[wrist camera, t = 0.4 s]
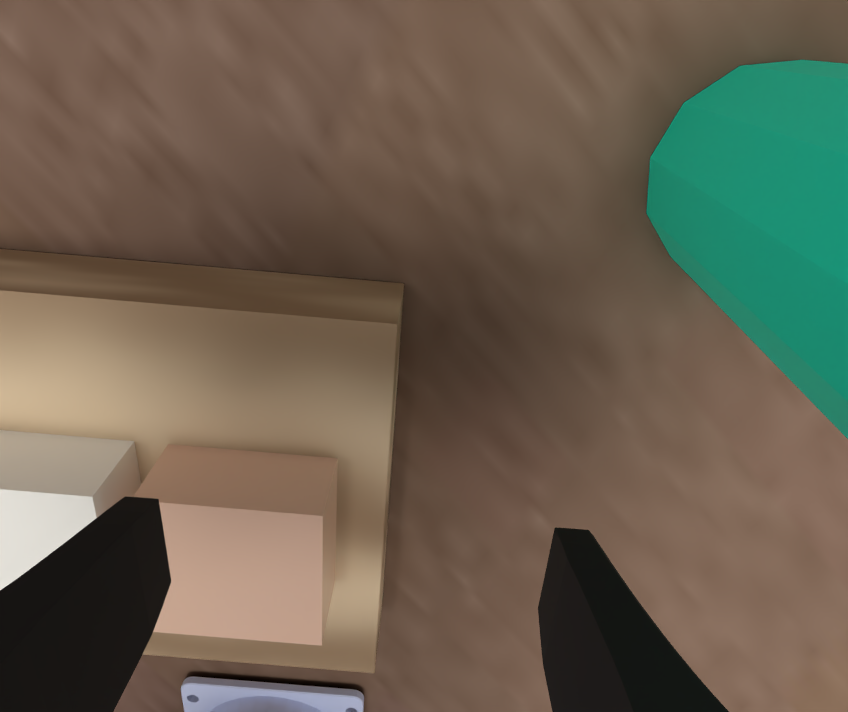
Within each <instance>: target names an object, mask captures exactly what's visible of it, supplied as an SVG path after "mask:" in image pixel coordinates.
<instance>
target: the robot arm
mask: <svg viewBox="0 0 848 712" xmlns="http://www.w3.org/2000/svg"><path fill="white" fill-rule="evenodd" d="M170 584H171V576H170V569H169V563H168V556H167V550H166V543H165V537H164V531H163V524H162V518H161V511H160V505H159V499H155V498H141V497H127V496H125V497H124V498H122V499H121V500H120V501H118V502H117V503H115V504H114V505H113V506H111V507H110V508H109V509H108V510H106V511H105V512H104V513H102V514H101V515H100V516H98V517H97V518H96V519H95V520H93V521H92V522H91V523H90V524H88V525H87V526H86V527H84V528H83V529H82V530H81V531H79V532H78V533H77V534H75V535H74V536H73V537H72V538H70V539H69V540H68V541H66V542H65V543H64V544H63V545H61V546H60V547H59V548H57V549H56V550H55V551H53V552H52V553H51V554H49V555H48V556H47V557H45V558H44V559H43V560H41V561H40V562H39V563H37V564H36V565H35V566H33V567H32V568H31V569H29V570H28V571H27V572H25V573H24V574H23V575H21V576H20V577H19V578H17V579H16V580H14V581H13V582H12V583H10V584H9V585H7V586H6V587H4V588H3V589H2V590H0V712H113V711H114V709H115V707H116V705H117V703H118V701H119V699H120V697H121V695H122V693H123V691H124V689H125V688H126V686H127V684H128V682H129V680H130V678H131V676H132V674H133V672H134V670H135V668H136V666H137V664H138V662H139V660H140V658H141V656H142V654H143V652H144V650H145V648H146V646H147V644H148V642H149V640H150V638H151V636H152V633H153V631H154V628H155V625H156V623H157V620H158V618H159V615H160V612H161V610H162V607H163V604H164V601H165V598H166V595H167V593H168V590H169V587H170ZM538 613H539V625H540V637H541V647H542V657H543V666H544V671H545V676H546V681H547V686H548V691H549V696H550V701H551V706H552V711H553V712H729V711H728V710H727V709H726V708H725V707H724V706H723V705H722V704H721V703H720V702H719V700H718V699H717V698H716V697H715V696H714V695H713V694H712V693H711V692H710V690H709V689H708V688H707V687H706V686H705V685H704V683H703V682H702V681H701V680H700V679H699V678H698V677H697V675H696V674H695V673H694V672H693V671H692V669H691V668H690V667H689V666H688V665H687V663H686V662H685V661H684V660H683V659H682V657H681V656H680V655H679V654H678V652H677V651H676V650H675V649H674V647H673V646H672V645H671V644H670V642H669V641H668V640H667V639H666V637H665V636H664V635H663V633H662V632H661V631H660V630H659V628H658V627H657V626H656V624H655V623H654V622H653V620H652V619H651V618H650V616H649V615H648V614H647V612H646V611H645V610H644V608H643V607H642V606H641V604H640V603H639V602H638V600H637V599H636V597H635V596H634V595H633V593H632V592H631V590H630V589H629V588H628V586H627V585H626V583H625V582H624V580H623V579H622V578H621V576H620V575H619V573H618V572H617V570H616V569H615V567H614V566H613V564H612V563H611V562H610V560H609V559H608V557H607V556H606V554H605V553H604V551H603V550H602V548H601V547H600V545H599V544H598V542H597V541H596V539H595V538H594V536H593V535H592V534H591V532H590V531H589V530H581V529H567V528H555V530H554V534H553V539H552V544H551V549H550V554H549V558H548V563H547V568H546V573H545V578H544V582H543V587H542V592H541V597H540V601H539V606H538ZM181 694H182V701H183V707H184V712H363V710H364V695H363V694H362V693H361V692H360V691H358V690H354V689H344V688H331V687H319V686H306V685H294V684H282V683H269V682H257V681H245V680H232V679H220V678H208V677H195V676H192V677H188V678H186V679H185V680H184V681H183V684H182V686H181Z"/></svg>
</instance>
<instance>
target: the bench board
mask: <svg viewBox="0 0 848 712" xmlns="http://www.w3.org/2000/svg"><path fill="white" fill-rule="evenodd" d="M403 292H404V283H394V282H382V281H370V280H359V279H347V278H335V277H324V276H312V275H300V274H289V273H277V272H265V271H254V270H242V269H230V268H219V267H207V266H195V265H184V264H172V263H161V262H149V261H137V260H126V259H114V258H102V257H91V256H79V255H67V254H56V253H44V252H32V251H21V250H9V249H0V430H6V431H18V432H30V433H42V434H54V435H66V436H78V437H90V438H102V439H114V440H126V441H134V442H135V449H136V455H137V461H138V467H139V474H140V480H141V484H142V483H143V481H144V480H145V478H146V477H147V475H148V474H149V472H150V471H151V469H152V468H153V466H154V465H155V463H156V462H157V460H158V459H159V457H160V456H161V454H162V453H163V451H164V450H165V448H166V447H167V445H168V444H174V445H185V446H197V447H209V448H221V449H233V450H245V451H257V452H269V453H281V454H293V455H305V456H317V457H329V458H338V461H337V511H336V562H335V584H334V589H333V594H332V598H331V603H330V608H329V613H328V618H327V623H326V628H325V633H324V638H323V643H322V646H319V645H307V644H295V643H283V642H270V641H258V640H246V639H234V638H221V637H209V636H197V635H184V634H172V633H160V632H153V633H152V636H151V638H150V640H149V642H148V644H147V646H146V648H145V650H144V652H143V655H156V656H168V657H180V658H193V659H205V660H217V661H230V662H242V663H254V664H267V665H279V666H291V667H303V668H316V669H328V670H340V671H353V672H365V673H375V664H376V655H377V646H378V637H379V628H380V620H381V611H382V599H383V584H384V569H385V555H386V540H387V526H388V511H389V497H390V482H391V467H392V453H393V438H394V424H395V409H396V394H397V380H398V365H399V351H400V336H401V321H402V307H403Z"/></svg>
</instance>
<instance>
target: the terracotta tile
mask: <svg viewBox="0 0 848 712" xmlns="http://www.w3.org/2000/svg"><path fill="white" fill-rule="evenodd" d="M337 461H338V458H329V457H317V456H305V455H293V454H281V453H269V452H257V451H245V450H233V449H221V448H209V447H197V446H185V445H174V444H168V445H167V447H166V448H165V450H164V451H163V453H162V454H161V456H160V457H159V459H158V460H157V462H156V463H155V465H154V466H153V468H152V469H151V471H150V472H149V474H148V475H147V477H146V478H145V480H144V481H143V483H142V484H141V486H140V487H139V489H138V490H137V492H136V493H135V494H134V496H133V497H141V498H155V499H159V505H160V511H161V518H162V524H163V531H164V537H165V543H166V550H167V556H168V563H169V569H170V576H171V584H170V587H169V590H168V593H167V595H166V598H165V601H164V604H163V607H162V610H161V612H160V615H159V618H158V620H157V623H156V625H155V628H154V631H153V632H160V633H172V634H184V635H197V636H209V637H221V638H234V639H246V640H258V641H270V642H283V643H295V644H307V645H319V646H322V643H323V638H324V633H325V628H326V623H327V618H328V613H329V608H330V603H331V598H332V594H333V589H334V584H335V562H336V511H337Z"/></svg>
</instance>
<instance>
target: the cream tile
mask: <svg viewBox="0 0 848 712" xmlns="http://www.w3.org/2000/svg"><path fill="white" fill-rule="evenodd" d="M140 486H141V480H140V474H139V467H138V461H137V455H136V449H135V442H134V441H126V440H114V439H102V438H90V437H78V436H66V435H54V434H42V433H30V432H18V431H6V430H0V590H2V589H3V588H4V587H6V586H7V585H9V584H10V583H12V582H13V581H14V580H16V579H17V578H19V577H20V576H21V575H23V574H24V573H25V572H27V571H28V570H29V569H31V568H32V567H33V566H35V565H36V564H37V563H39V562H40V561H41V560H43V559H44V558H45V557H47V556H48V555H49V554H51V553H52V552H53V551H55V550H56V549H57V548H59V547H60V546H61V545H63V544H64V543H65V542H66V541H68V540H69V539H70V538H72V537H73V536H74V535H75V534H77V533H78V532H79V531H81V530H82V529H83V528H84V527H86V526H87V525H88V524H90V523H91V522H92V521H93V520H95V519H96V518H97V517H98V516H100V515H101V514H102V513H104V512H105V511H106V510H108V509H109V508H110V507H111V506H113V505H114V504H115V503H117V502H118V501H120V500H121V499H122V498H124V497H125V496H127V497H133V496H134V494H135V493H136V492H137V490H138V489H139V487H140Z"/></svg>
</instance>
